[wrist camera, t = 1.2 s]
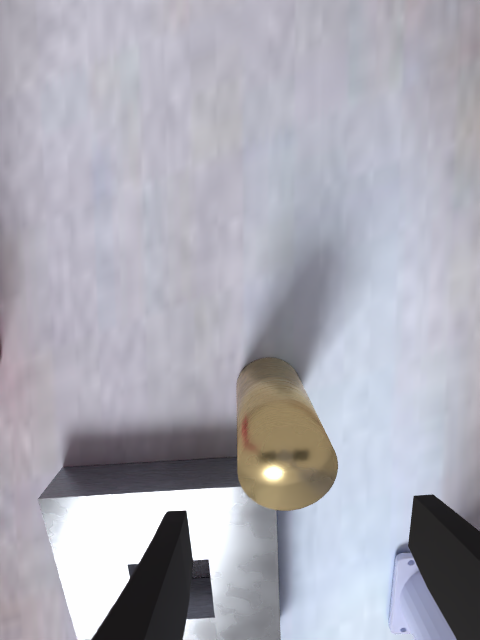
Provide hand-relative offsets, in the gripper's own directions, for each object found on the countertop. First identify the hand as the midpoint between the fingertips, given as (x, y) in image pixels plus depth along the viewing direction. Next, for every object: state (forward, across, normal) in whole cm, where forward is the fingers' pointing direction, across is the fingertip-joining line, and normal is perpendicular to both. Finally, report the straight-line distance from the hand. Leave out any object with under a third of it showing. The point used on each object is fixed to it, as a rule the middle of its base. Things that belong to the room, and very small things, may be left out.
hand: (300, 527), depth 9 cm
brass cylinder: (+9, 0, 0) cm, 9 cm away
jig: (+9, +7, +13) cm, 18 cm away
